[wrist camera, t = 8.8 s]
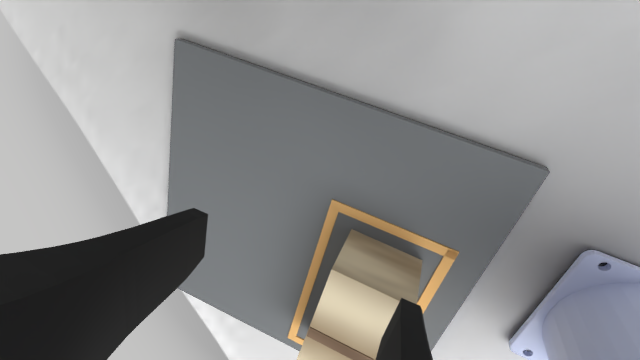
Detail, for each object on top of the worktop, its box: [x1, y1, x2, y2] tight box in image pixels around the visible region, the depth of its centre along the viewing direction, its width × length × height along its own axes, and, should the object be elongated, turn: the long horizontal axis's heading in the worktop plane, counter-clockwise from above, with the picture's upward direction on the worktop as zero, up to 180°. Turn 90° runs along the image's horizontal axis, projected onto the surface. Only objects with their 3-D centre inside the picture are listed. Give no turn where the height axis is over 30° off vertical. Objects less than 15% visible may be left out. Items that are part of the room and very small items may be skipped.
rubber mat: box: [167, 39, 550, 351], centre depth 23 cm, size 21×20×1 cm
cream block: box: [297, 229, 423, 360], centre depth 21 cm, size 10×4×4 cm, turn 164°
